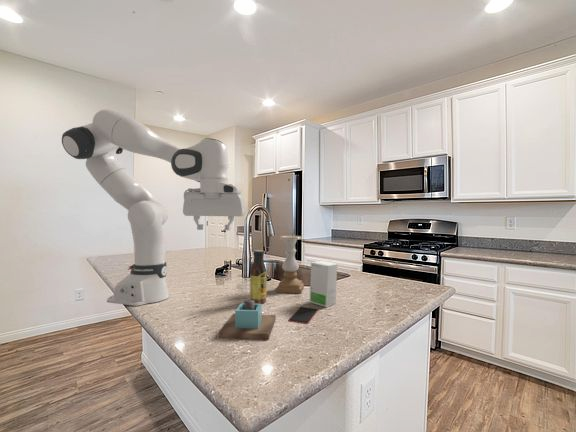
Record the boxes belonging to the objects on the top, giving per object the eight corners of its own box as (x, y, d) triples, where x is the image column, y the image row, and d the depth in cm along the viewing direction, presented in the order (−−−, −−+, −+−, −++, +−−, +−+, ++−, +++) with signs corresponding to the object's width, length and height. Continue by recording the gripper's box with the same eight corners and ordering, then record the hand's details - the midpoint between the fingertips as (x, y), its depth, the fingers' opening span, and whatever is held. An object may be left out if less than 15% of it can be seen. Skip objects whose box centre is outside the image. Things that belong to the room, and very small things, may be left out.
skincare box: (309, 302, 107) (309, 262, 107) (319, 298, 112) (319, 260, 112) (327, 307, 102) (327, 265, 102) (337, 303, 107) (337, 262, 106)
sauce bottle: (263, 305, 104) (263, 252, 104) (247, 304, 106) (247, 251, 105) (268, 299, 111) (268, 249, 111) (253, 298, 112) (253, 249, 112)
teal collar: (235, 327, 81) (235, 310, 80) (240, 319, 87) (240, 303, 87) (258, 328, 80) (258, 311, 80) (261, 319, 87) (261, 303, 87)
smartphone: (319, 309, 100) (308, 323, 87) (319, 310, 100) (308, 325, 87) (300, 306, 103) (286, 320, 89) (300, 308, 103) (286, 322, 89)
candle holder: (304, 287, 130) (304, 235, 129) (301, 293, 119) (301, 237, 118) (280, 285, 132) (281, 235, 131) (275, 292, 121) (276, 237, 120)
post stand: (218, 337, 78) (218, 308, 78) (233, 318, 92) (233, 293, 92) (268, 339, 77) (268, 310, 76) (275, 319, 91) (275, 295, 90)
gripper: (179, 187, 91) (179, 230, 91) (241, 187, 89) (241, 231, 89) (188, 189, 97) (187, 228, 97) (246, 189, 95) (245, 229, 95)
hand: (213, 230), depth 93 cm, fingers open, 8 cm apart
